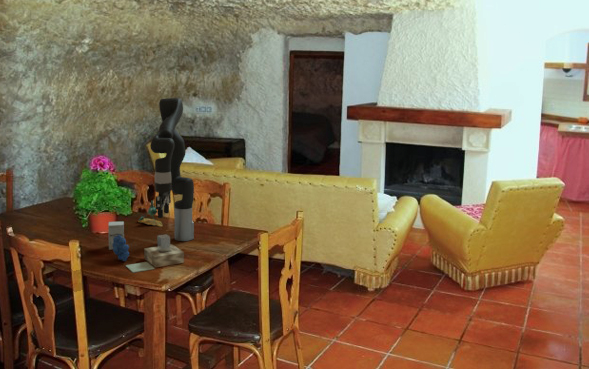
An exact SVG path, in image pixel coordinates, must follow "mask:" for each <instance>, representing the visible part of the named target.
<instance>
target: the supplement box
mask: <svg viewBox="0 0 589 369" xmlns="http://www.w3.org/2000/svg"><path fill="white" fill-rule="evenodd" d="M124 225H125V222H124V221H108V225H107V226H108V228H107V229H108V231H107V232H108V250H110V251H111V250H113V246H112V244H113V242H114V241H113V238H114V237H115V236H116V237H117V235H121V236H122V238H124V239H125V231H124V230H125V226H124Z"/></svg>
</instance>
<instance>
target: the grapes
mask: <svg viewBox="0 0 589 369" xmlns="http://www.w3.org/2000/svg"><path fill="white" fill-rule="evenodd" d="M113 241H114V242H113V244H112V246H113V249H112V251H113V253H114V254H115V256H117V259H118V260H120V261H123V262H127V260H128V257H129V256H130V252H129V249H130V246H129V245H128V244H126V243H127V240H126V238H125V237H124V238H122V236H121V235H117V237H116V236H115V237H114V238H113Z"/></svg>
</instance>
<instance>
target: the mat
mask: <svg viewBox="0 0 589 369" xmlns="http://www.w3.org/2000/svg"><path fill="white" fill-rule="evenodd" d="M125 267H126V268H127V269H128V270H129V271H130V272H131V273H133V274H134V273H140V272H146V271H150V270H152V271H153V270H156V267H154V266H153V265H152V264H150V263H149V262H148V261H144V262H143V261H142V262H138V263H131V264H126V265H125Z"/></svg>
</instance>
